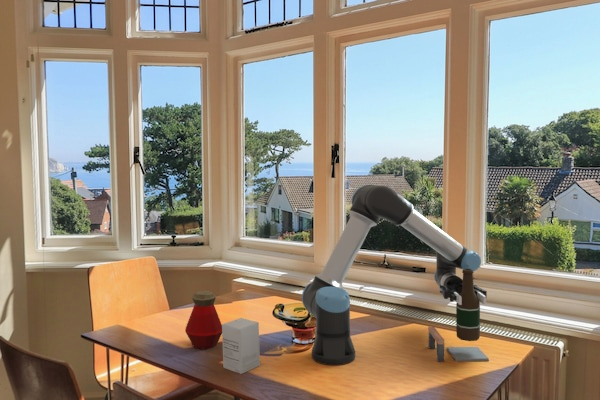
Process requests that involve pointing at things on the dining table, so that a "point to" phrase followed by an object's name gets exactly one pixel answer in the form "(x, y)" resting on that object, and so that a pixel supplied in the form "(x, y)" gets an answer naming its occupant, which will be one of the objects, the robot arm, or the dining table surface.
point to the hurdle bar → (436, 335)
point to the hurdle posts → (439, 347)
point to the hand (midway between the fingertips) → (472, 300)
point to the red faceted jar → (204, 321)
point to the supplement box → (240, 345)
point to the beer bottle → (468, 310)
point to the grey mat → (467, 354)
